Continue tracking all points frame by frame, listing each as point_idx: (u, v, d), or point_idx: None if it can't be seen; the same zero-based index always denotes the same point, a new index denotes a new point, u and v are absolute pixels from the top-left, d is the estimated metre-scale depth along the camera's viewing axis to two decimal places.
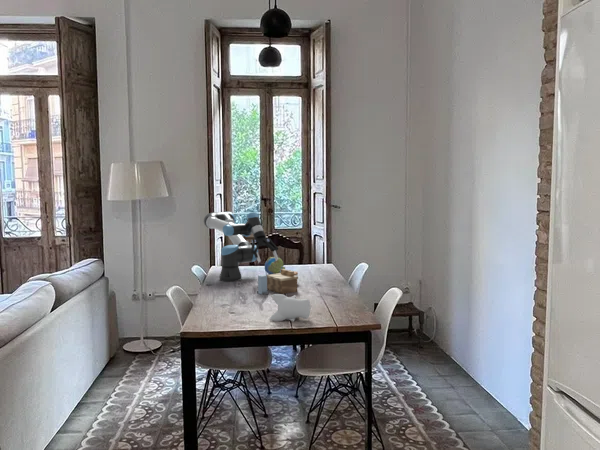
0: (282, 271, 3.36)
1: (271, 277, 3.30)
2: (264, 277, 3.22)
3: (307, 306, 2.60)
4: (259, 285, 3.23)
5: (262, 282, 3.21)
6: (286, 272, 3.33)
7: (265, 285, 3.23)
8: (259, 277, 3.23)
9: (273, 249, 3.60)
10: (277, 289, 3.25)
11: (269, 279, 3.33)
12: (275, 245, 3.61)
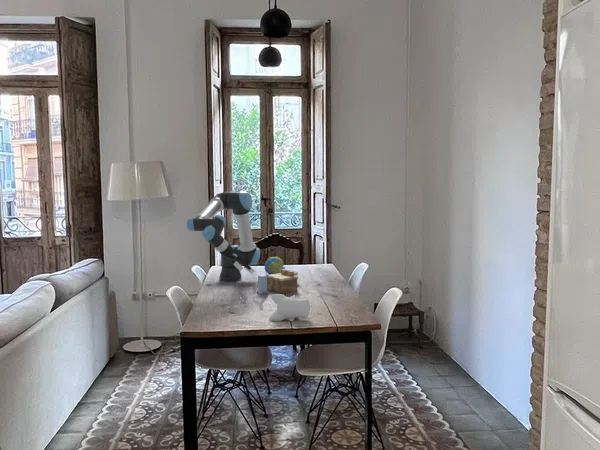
0: (282, 271, 3.36)
1: (271, 277, 3.30)
2: (264, 277, 3.22)
3: (306, 306, 2.60)
4: (259, 285, 3.23)
5: (262, 282, 3.21)
6: (286, 272, 3.33)
7: (265, 285, 3.23)
8: (259, 277, 3.23)
9: None
10: (277, 289, 3.25)
11: (269, 279, 3.33)
12: (242, 263, 3.05)
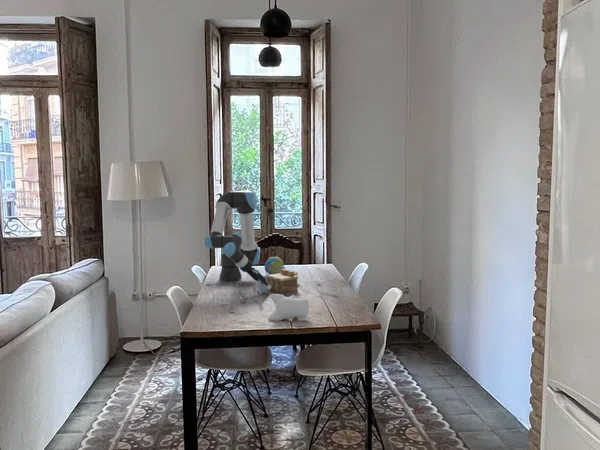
0: (282, 271, 3.36)
1: (271, 277, 3.30)
2: (264, 277, 3.22)
3: (305, 306, 2.60)
4: (259, 285, 3.23)
5: None
6: (286, 272, 3.33)
7: None
8: None
9: None
10: (277, 289, 3.25)
11: (269, 279, 3.33)
12: (261, 280, 3.17)
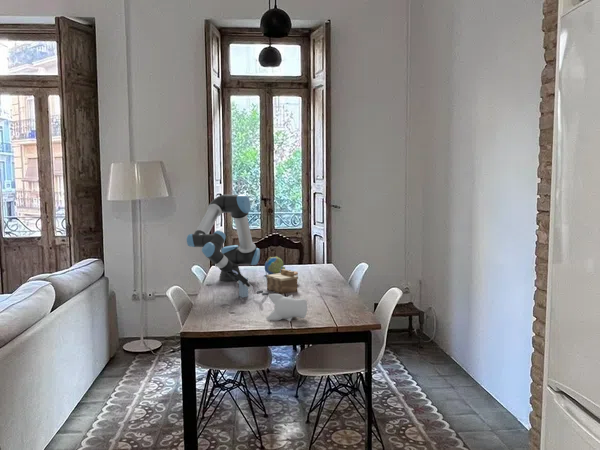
0: (282, 271, 3.36)
1: (271, 277, 3.30)
2: None
3: (304, 306, 2.60)
4: (240, 288, 3.16)
5: (242, 284, 3.14)
6: (286, 272, 3.33)
7: (246, 288, 3.16)
8: None
9: None
10: (277, 289, 3.25)
11: (269, 279, 3.33)
12: (241, 280, 3.08)
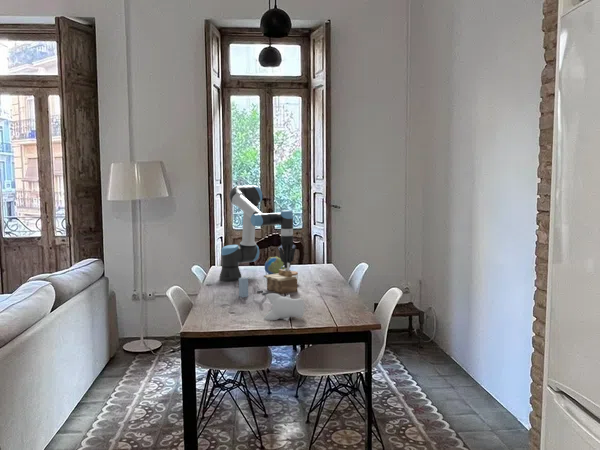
0: (280, 271, 3.36)
1: (269, 277, 3.29)
2: (245, 279, 3.15)
3: (301, 305, 2.61)
4: (240, 288, 3.16)
5: (242, 284, 3.14)
6: (283, 272, 3.32)
7: (246, 288, 3.16)
8: (240, 279, 3.15)
9: None
10: (277, 289, 3.25)
11: (269, 279, 3.33)
12: (293, 256, 3.34)
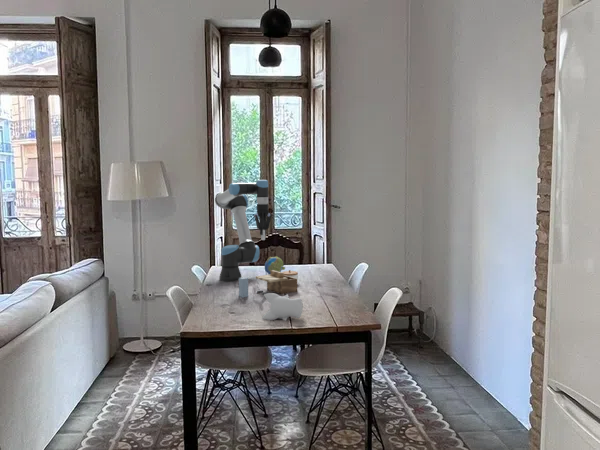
0: (272, 272, 3.32)
1: (260, 278, 3.26)
2: (245, 279, 3.15)
3: (299, 305, 2.61)
4: (240, 288, 3.16)
5: (242, 284, 3.14)
6: (275, 273, 3.29)
7: (246, 288, 3.16)
8: (240, 279, 3.15)
9: None
10: (277, 289, 3.25)
11: None
12: None
